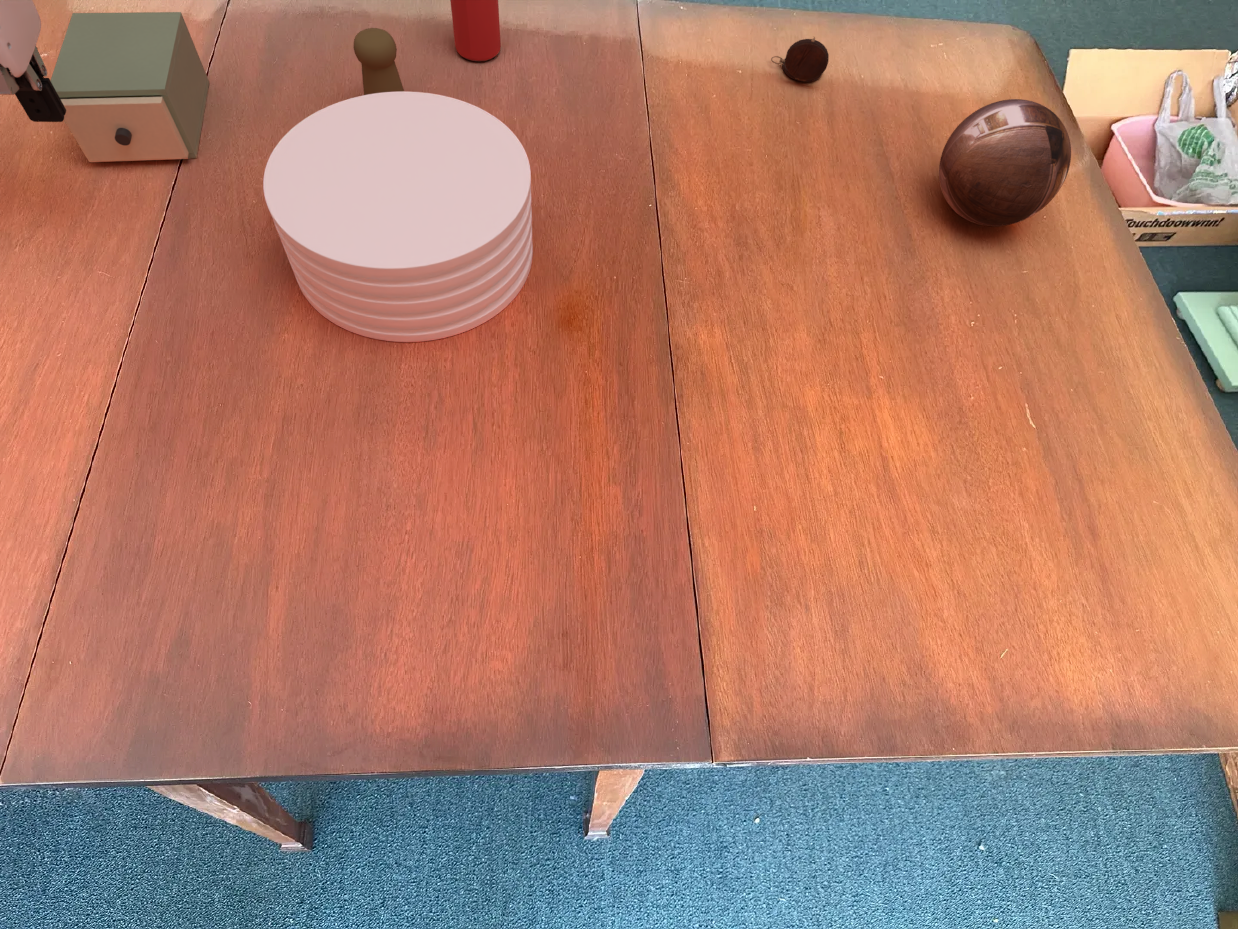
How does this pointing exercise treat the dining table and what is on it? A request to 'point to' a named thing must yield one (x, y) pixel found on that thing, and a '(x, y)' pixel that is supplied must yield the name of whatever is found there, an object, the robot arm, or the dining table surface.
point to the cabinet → (135, 64)
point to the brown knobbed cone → (377, 61)
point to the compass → (805, 60)
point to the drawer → (124, 128)
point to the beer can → (476, 28)
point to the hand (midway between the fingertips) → (49, 116)
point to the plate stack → (403, 214)
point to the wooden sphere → (1005, 162)
